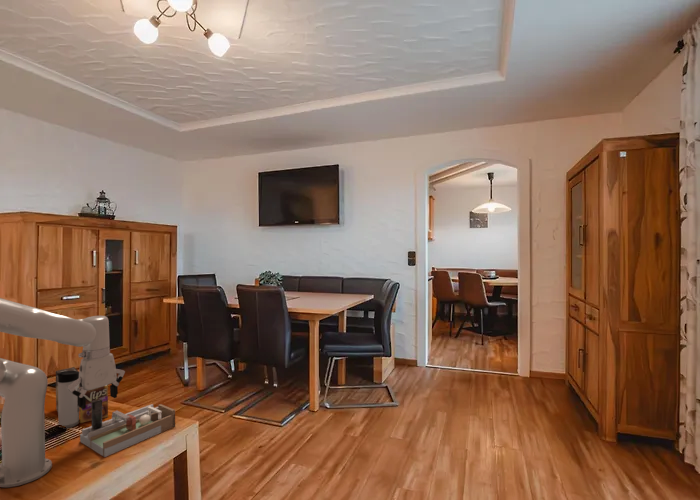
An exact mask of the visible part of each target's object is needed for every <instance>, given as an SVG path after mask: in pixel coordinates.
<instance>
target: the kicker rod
mask: <svg viewBox="0 0 700 500" xmlns="http://www.w3.org/2000/svg"><path fill="white" fill-rule="evenodd" d="M91 409H92V421H91V426H92V428H89V432H92V431H95V430H97V429H100V428H103V427H105V426H108V425H111V424H113V423H116V422H119V421H121V420H123V421H126V429H128V430H130V431H132V430H135V429H136V417H134V416H132V415H130V414H129V415H126V413H123V412H121V411H119V410H115V411H112V413H111V419H112V420H111V421H108V422H105V423H103V424H102V422H103V418H102V399H96V400H93V401H92V402H91Z"/></svg>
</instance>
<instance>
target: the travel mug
mask: <svg viewBox="0 0 700 500" xmlns="http://www.w3.org/2000/svg"><path fill="white" fill-rule="evenodd" d="M57 376H58V379H59V380H58V411H57V415H58V417H57V418H58V419H57V420H58V421H57V422H58V425H62V426H65V427H66V428H65V429H70V428H74V427H75V426H78V425H79V423H80V412H79V406H78V397H77V396H76V395H74V394H72V393H71V392H70V391H69V389H68V388H67V387H68V386H69V385H70V384H72V383H73V382H74V381H76V380H77V379H78V378H79V372H76V371H64V372H60V373H57ZM75 390H76V391H78V390H79V385H77V386H76V387H75Z"/></svg>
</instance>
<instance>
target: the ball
mask: <svg viewBox="0 0 700 500" xmlns="http://www.w3.org/2000/svg"><path fill="white" fill-rule="evenodd" d="M150 420H151V418H150V416H149V415H147V414H145V415H143V416H141V417H140V419H139V423H140V424H141V425H143V426H145V425H147V424H149V422H150Z"/></svg>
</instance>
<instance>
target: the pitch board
mask: <svg viewBox="0 0 700 500" xmlns="http://www.w3.org/2000/svg"><path fill="white" fill-rule="evenodd" d="M125 414H126V415H129V414H130V415H132V416H134V417H136V429H135V430H132V431H130V430H128V429H126V421H123V420H121V421H119V422H116V423H113V424H111V425H108V426H105V427H103V428H100V429H97V430H95V431H92V432H89V428H92V425H91V426H89V427H86V428H82V430H81V433H80V434H79V436H80V437H79V442H80V443H81V444H82V445H85V446H86V447H88V448H89V449H91V450H93V451H94V452H95V453H97V454H99V455H100V456H102V457H104V458H106V457H108V456H110V455H113V454H115V453H117V452H120V451H123V450H124V449H126V448H128V447H131V446H133V445H136V444H139V443H140V442H143V441H145V440H147V439H150V438H152V437H154V436H156V435H158V434H160V433H163V432H165V431H167V430H169V429H172V428H174V427H176V410H175V409H174V408H171V407H169V406H166V405H164V404H162V403H160V404H158V406H156V407H154V404H153V403H152V404H149V405H145V406H143V407H140V408H138V409H135V410H132V411H129V412H127V413H125ZM145 414H147V415H149V416H150V418H151V420H150V422H149V424H147V425H145V426H143V425H141V424H140V423H139V419H140V417H141V416H143V415H145ZM111 420H112V418H111V419H107V420H105V421H102V424H103V423H105V422H108V421H111Z"/></svg>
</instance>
